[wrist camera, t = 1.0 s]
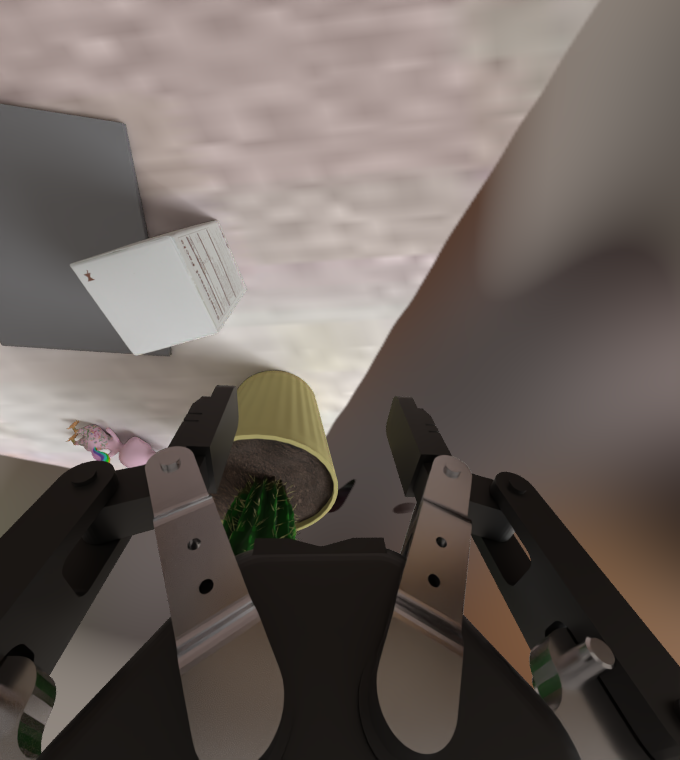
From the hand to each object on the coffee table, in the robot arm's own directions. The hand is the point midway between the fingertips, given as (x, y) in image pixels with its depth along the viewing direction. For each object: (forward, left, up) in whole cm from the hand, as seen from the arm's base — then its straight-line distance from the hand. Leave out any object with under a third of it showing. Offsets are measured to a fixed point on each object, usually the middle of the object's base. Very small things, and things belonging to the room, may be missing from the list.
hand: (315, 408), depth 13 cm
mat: (0, -26, -24) cm, 35 cm away
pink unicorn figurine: (+26, -25, -24) cm, 43 cm away
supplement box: (0, -12, -24) cm, 27 cm away
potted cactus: (+18, -4, -24) cm, 30 cm away
